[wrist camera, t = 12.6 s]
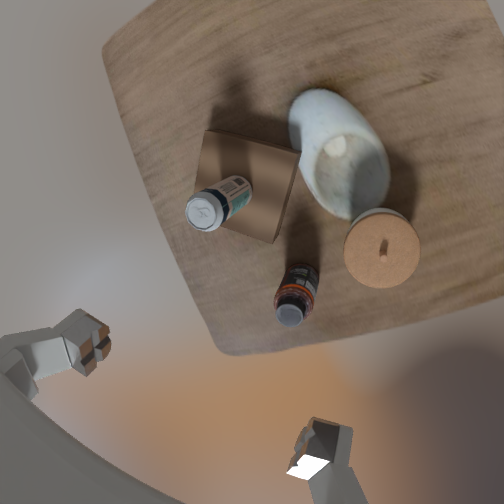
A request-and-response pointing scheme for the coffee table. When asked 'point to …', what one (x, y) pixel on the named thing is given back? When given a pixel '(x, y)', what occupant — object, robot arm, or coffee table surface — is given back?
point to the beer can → (218, 203)
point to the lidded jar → (381, 248)
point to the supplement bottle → (296, 295)
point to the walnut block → (250, 179)
